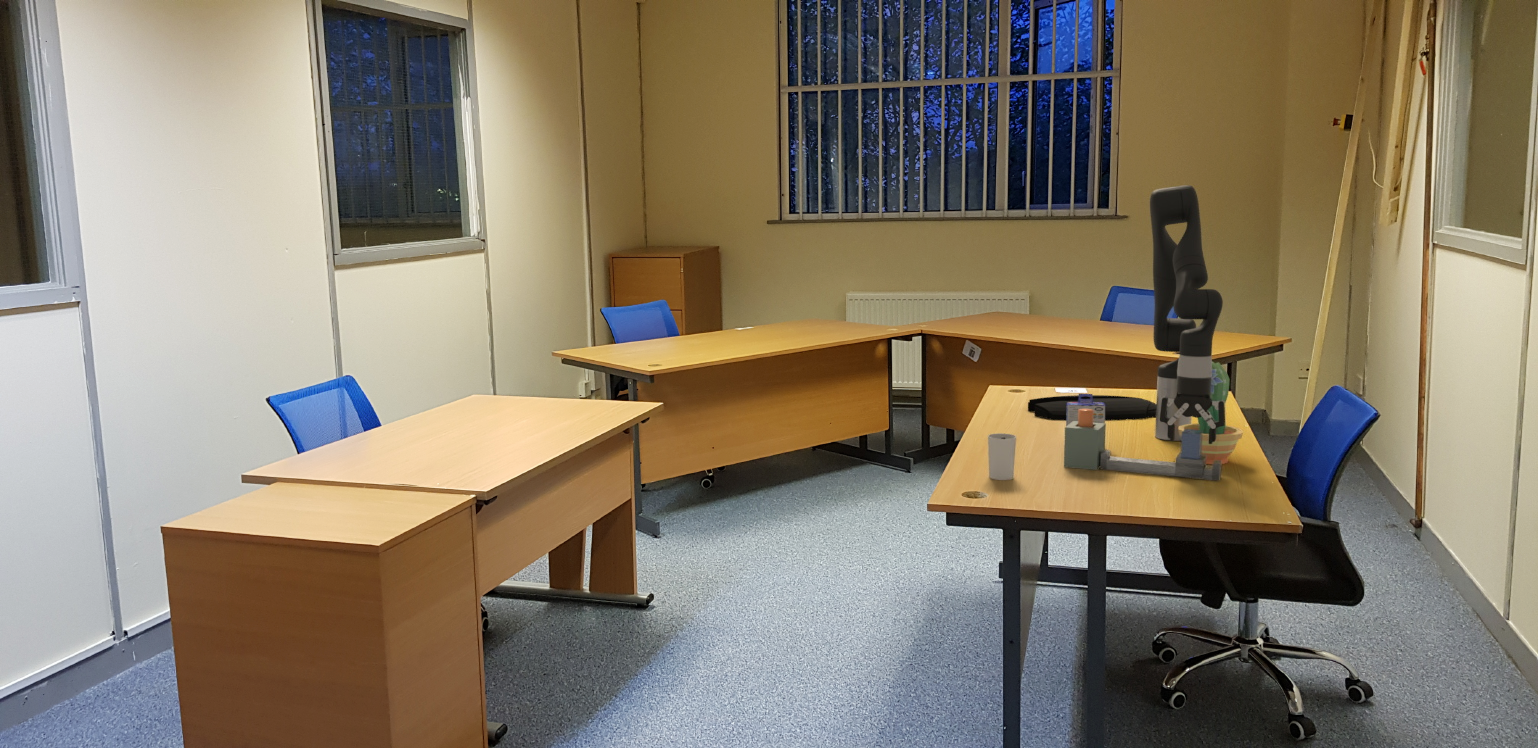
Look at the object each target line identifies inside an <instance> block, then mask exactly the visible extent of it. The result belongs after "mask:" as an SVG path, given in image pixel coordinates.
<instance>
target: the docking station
mask: <svg viewBox="0 0 1538 748" xmlns="http://www.w3.org/2000/svg"><path fill="white" fill-rule="evenodd" d="M1092 396H1093V402H1103V403H1104V404H1105V421H1124V420H1125V421H1127V420H1126V419H1132V420H1145V419H1146V418H1156V402H1153V401H1151V400H1148V399H1145V398H1141V397H1135V396H1122V395H1103V394H1102V395H1101V394H1098V395H1097V394H1095V395H1094V394H1092ZM1078 399H1079V394H1078V395H1074V394H1073V395H1057V396H1048V397H1047V396H1046V397H1040V398H1039V397H1038V398H1032V399H1029V400H1028V402H1027V411H1029V412H1033V413H1034V416H1035V417H1039V418H1043V419H1049V420H1052V421H1053V420H1054V421H1066V413H1067V402H1078ZM1081 399H1090V397H1088V396H1084V397H1081Z"/></svg>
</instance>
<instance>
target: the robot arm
mask: <svg viewBox="0 0 1538 748" xmlns="http://www.w3.org/2000/svg"><path fill="white" fill-rule="evenodd" d="M1149 213H1150V221H1151V222H1150V223H1151V232H1152V249H1153V250H1152V254H1153V256H1152V257H1153V258H1152V259H1153V260H1152V278H1153V279H1152V281H1153V292H1154V293H1153V294H1154V295H1153V299H1154V311H1153V313H1154V316H1153V317H1154V318H1153V336H1152V337H1153V344H1154V347H1155V349H1156V350H1157V351H1160V352H1166V353H1168V352H1170V353H1179V355H1178V358H1177V359H1175V360H1173V361H1170V362H1166V363H1163V364H1160V365H1159V366H1158V367H1157V378H1156V379H1157V384H1156V402H1155V404H1156V417H1155V426H1154V428H1155V429H1154V437H1156V439H1159V440H1165V441H1171V442H1174V441H1176V442H1177V441H1178V442H1179V441H1181V442H1182V436H1181V435H1179V430H1178V428H1179V426H1181V425H1185V424H1192V418H1196V419H1198V418H1199V417H1203V418H1204V420H1205V421H1206V422H1207V423H1208V424H1209V426H1210V429H1209V444H1212V443H1213V442H1215V440H1216V430H1217V428H1218V427H1222V426H1224V424H1225V422H1226V403H1225V401H1224V400H1220V401H1212V399H1211V380H1212V362H1213V360H1212V359H1213V358H1212V357H1213V356H1212V353H1213V337H1214V333H1215V331H1216V326H1217V323H1218V321H1219V318H1220V315H1221V313H1222V309H1223V302H1224V301H1223V300H1224V299H1223V297H1222V295H1221V293H1220V292H1219V291H1218V290H1216V289H1212V288H1211V289H1210V288H1203V287H1204V286H1206V284H1208V280H1209V276H1208V274H1209V273H1208V271H1207V265H1206V261H1205V256H1204V252H1203V245H1202V244H1203V243H1202V240H1203V239H1202V228H1201V227H1202V225H1201V224H1202V223H1201V216H1200V215H1201V213H1200V206H1199V197H1198V194H1197V191H1196V189H1195V188H1194V187H1193V186H1192V185H1190V184H1189V185H1186V184H1185V185H1178V186H1171V187H1163V188H1157V189H1154V190H1152V192H1151V193H1150V198H1149ZM1185 223H1186V228H1185V231H1184V233H1183V235H1182V237H1181V239H1180V240H1179V242H1178V244H1177V243H1176V242H1175V241H1174V239H1173V238H1172V237H1171V235H1170V234H1169V232H1168V231H1167V229H1166V226H1169V225H1177V224H1185ZM1172 309H1173V312H1174V314H1175V315H1176V316H1177V318H1176V317H1175V318H1173V317H1170V318H1169V314H1170V312H1171V311H1172ZM1195 320H1201V323H1200V324H1199V325H1198V326H1197V324H1196V321H1195ZM1212 405H1214V406H1215V409H1216V410H1218V412H1219V421H1217V422H1215V420H1214V419H1213V418H1212V416H1211V414H1210V413H1209V411H1208V409H1209V408H1210V407H1211V406H1212Z"/></svg>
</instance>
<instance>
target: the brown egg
mask: <svg viewBox="0 0 1538 748" xmlns="http://www.w3.org/2000/svg"><path fill="white" fill-rule="evenodd" d="M1093 412H1094V410H1092V409H1079V410H1078V427H1089V428H1093Z"/></svg>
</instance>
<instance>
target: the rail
mask: <svg viewBox="0 0 1538 748" xmlns="http://www.w3.org/2000/svg"><path fill="white" fill-rule="evenodd" d="M1175 465H1176V461H1174V462H1173V461H1163V460H1153V459H1141V458H1132V457H1131V458H1129V457H1120V456H1111V450H1109V449H1105V450H1103V451H1102V452H1101V461H1100V467H1099V469H1100V470H1106V471H1116V472H1117V471H1118V472H1126V473H1128V472H1129V473H1137V474H1145V475H1146V474H1147V475H1157V476H1165V475H1166V476H1167V477H1177V478H1188V479H1197V480H1206V481H1215V482H1216V481H1217V482H1219V481H1220V480H1221V475H1222V464H1221V460H1214V462H1213V464H1212V465H1209V464H1206V465H1205V466H1204V467H1203V477H1195V476H1185V475H1175Z"/></svg>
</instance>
